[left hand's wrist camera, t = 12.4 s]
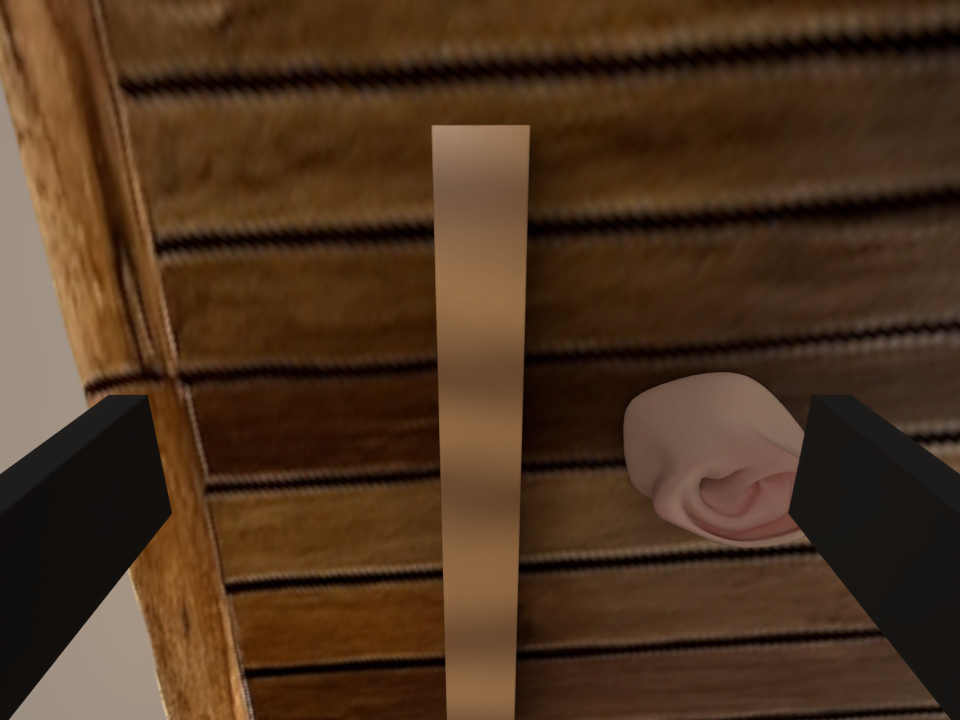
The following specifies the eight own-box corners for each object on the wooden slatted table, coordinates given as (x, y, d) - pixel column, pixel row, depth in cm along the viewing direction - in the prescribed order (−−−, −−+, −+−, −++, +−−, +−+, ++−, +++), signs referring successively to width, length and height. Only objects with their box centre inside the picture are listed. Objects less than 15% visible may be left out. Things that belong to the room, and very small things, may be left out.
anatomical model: (602, 449, 38) (779, 351, 35) (591, 420, 41) (751, 330, 39) (699, 597, 41) (864, 517, 39) (681, 558, 45) (831, 483, 43)
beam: (441, 124, 35) (431, 125, 28) (520, 124, 35) (530, 125, 28) (456, 825, 56) (452, 927, 49) (505, 825, 56) (509, 927, 49)
